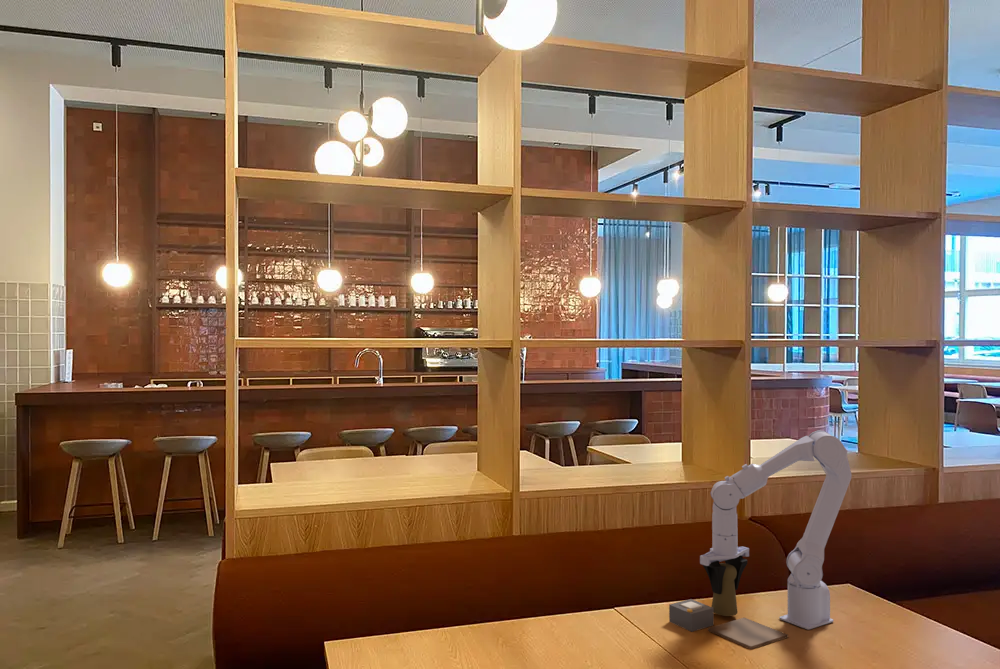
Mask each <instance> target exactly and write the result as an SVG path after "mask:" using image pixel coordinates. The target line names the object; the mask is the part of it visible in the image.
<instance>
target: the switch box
mask: <svg viewBox="0 0 1000 669" xmlns="http://www.w3.org/2000/svg"><path fill="white" fill-rule="evenodd" d="M687 602H694V603H696V604H699V605H701V606H702V608H699V609H695V610H692V609H687V608H684V607H682V606H681V604H683V603H687ZM668 606H669V608H668V609H669V610H668V611H669V612H668V615H669V616H668V617H669V623H671V624H673V625H675V626H677V627H680V628H682V629H684V630H687V631H689V632H696V631H698V630H702V629H703V630H704V629H706V628H710V627H713V626H715V625H714V623H715V622H714V620H715V618H714V614H715V613H714V608H713V607H712V606H710V605H708V604H705V603H704V602H703V603H702V602H699V601H697V600H695V599H692V598H690V599H685V600H682V601H678V602H675V603H674V602H673V603H670V604H669V605H668Z"/></svg>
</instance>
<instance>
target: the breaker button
mask: <svg viewBox="0 0 1000 669" xmlns="http://www.w3.org/2000/svg"><path fill="white" fill-rule="evenodd" d="M681 606H682V607H684V608H687V609H692V610H695V609H699V608H702V606H701V605H699V604H696V603H694V602H687V603H683V604H681Z"/></svg>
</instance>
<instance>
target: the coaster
mask: <svg viewBox="0 0 1000 669" xmlns="http://www.w3.org/2000/svg"><path fill="white" fill-rule="evenodd" d="M707 631H708V632H709V633H712V634H715V635H717V636H719V637H720V638H721V637H722V638H723V639H726V640H728V641H731V642H733V643H735V644H738V645H740V646H743V647H744V648H746V649H749V650H753V649H757V648H760V647H762V646H766V645H769V644H772V643H775V642H778V641H781V640H785V639H787V638H788V637H789V635H788V633H785V632H782V631H780V630H778V629H774V628H772V627H770V626H768V625H764V624H762V623H760V622H757V621H754V620H752V619H749V618H747V617H741V618H738V619H734V620H731V621H728V622H723V623H721V624H717V625H713V626H710V627H707Z"/></svg>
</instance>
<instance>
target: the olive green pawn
mask: <svg viewBox="0 0 1000 669" xmlns="http://www.w3.org/2000/svg"><path fill="white" fill-rule="evenodd" d="M719 564H721V565H722V566H725V567H726V569H725V572H724V576H723V582H722V593H721V594H716V593H714V592H713V595H712V602H711V607H713V608H714V614H715V615H719V616H723V617H734V616H736V615H737V614H738V606H737V605H738V604H737V603H738V602H737V595H736V590H735V584H734V579H735V578H736V575H737V571H736V568H735V567H734V566H733V565H730V564H726V563H724V562H723V563H722V562H721V563H720V562H719Z"/></svg>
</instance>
